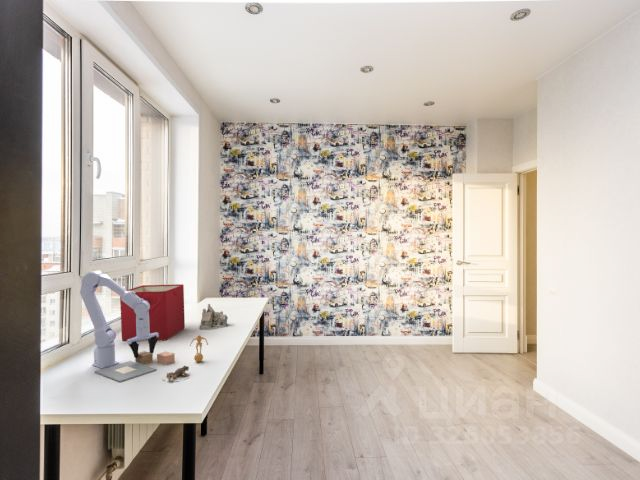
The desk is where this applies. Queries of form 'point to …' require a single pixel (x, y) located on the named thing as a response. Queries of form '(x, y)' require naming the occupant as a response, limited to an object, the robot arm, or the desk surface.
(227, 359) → the desk surface
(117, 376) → the board
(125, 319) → the storage cube
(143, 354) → the walnut block
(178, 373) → the frog figurine
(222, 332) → the desk surface
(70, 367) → the desk surface
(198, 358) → the figurine
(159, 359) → the terracotta block
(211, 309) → the stone castle ruin
